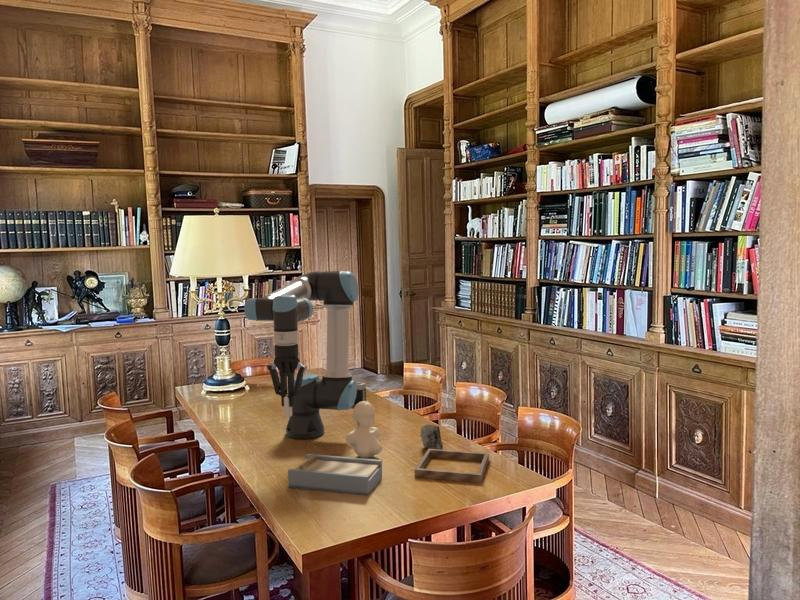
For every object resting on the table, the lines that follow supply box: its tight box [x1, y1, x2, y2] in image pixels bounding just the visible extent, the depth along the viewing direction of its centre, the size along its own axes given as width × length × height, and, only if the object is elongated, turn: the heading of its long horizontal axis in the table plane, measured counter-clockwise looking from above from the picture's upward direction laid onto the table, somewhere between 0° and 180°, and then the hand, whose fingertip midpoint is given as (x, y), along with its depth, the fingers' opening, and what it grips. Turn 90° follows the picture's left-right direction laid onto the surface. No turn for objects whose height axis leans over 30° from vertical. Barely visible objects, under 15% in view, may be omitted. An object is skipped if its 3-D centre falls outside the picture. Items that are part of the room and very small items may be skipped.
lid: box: [295, 456, 378, 478], centre depth 196 cm, size 25×12×2 cm, turn 75°
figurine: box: [345, 400, 383, 459], centre depth 218 cm, size 14×9×20 cm
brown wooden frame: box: [414, 448, 490, 484], centre depth 207 cm, size 21×20×2 cm
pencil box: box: [287, 453, 383, 496], centre depth 196 cm, size 26×15×6 cm, turn 75°
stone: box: [420, 424, 444, 450], centre depth 227 cm, size 10×10×10 cm
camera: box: [354, 381, 367, 405], centre depth 295 cm, size 14×8×10 cm, turn 58°
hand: (288, 416), depth 199 cm, fingers closed
